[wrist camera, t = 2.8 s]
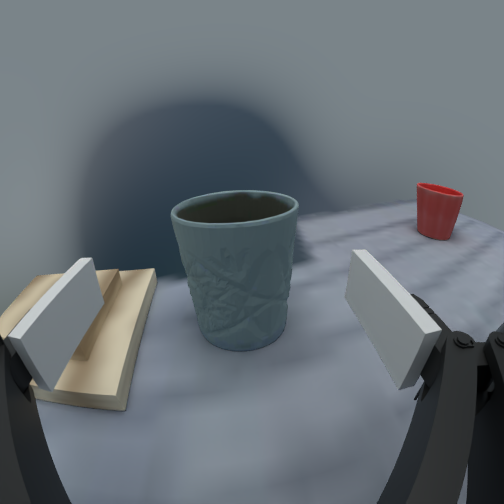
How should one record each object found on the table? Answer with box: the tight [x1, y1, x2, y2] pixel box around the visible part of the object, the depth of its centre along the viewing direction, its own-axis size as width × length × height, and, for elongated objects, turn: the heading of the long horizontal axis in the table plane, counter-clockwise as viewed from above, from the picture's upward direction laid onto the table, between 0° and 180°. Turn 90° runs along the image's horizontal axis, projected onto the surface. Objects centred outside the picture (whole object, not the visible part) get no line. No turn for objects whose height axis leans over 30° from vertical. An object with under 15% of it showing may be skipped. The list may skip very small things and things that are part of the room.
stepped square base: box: [0, 269, 157, 411], centre depth 23 cm, size 20×20×4 cm
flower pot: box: [417, 183, 463, 240], centre depth 46 cm, size 11×11×10 cm
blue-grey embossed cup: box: [171, 190, 299, 351], centre depth 24 cm, size 10×10×12 cm
